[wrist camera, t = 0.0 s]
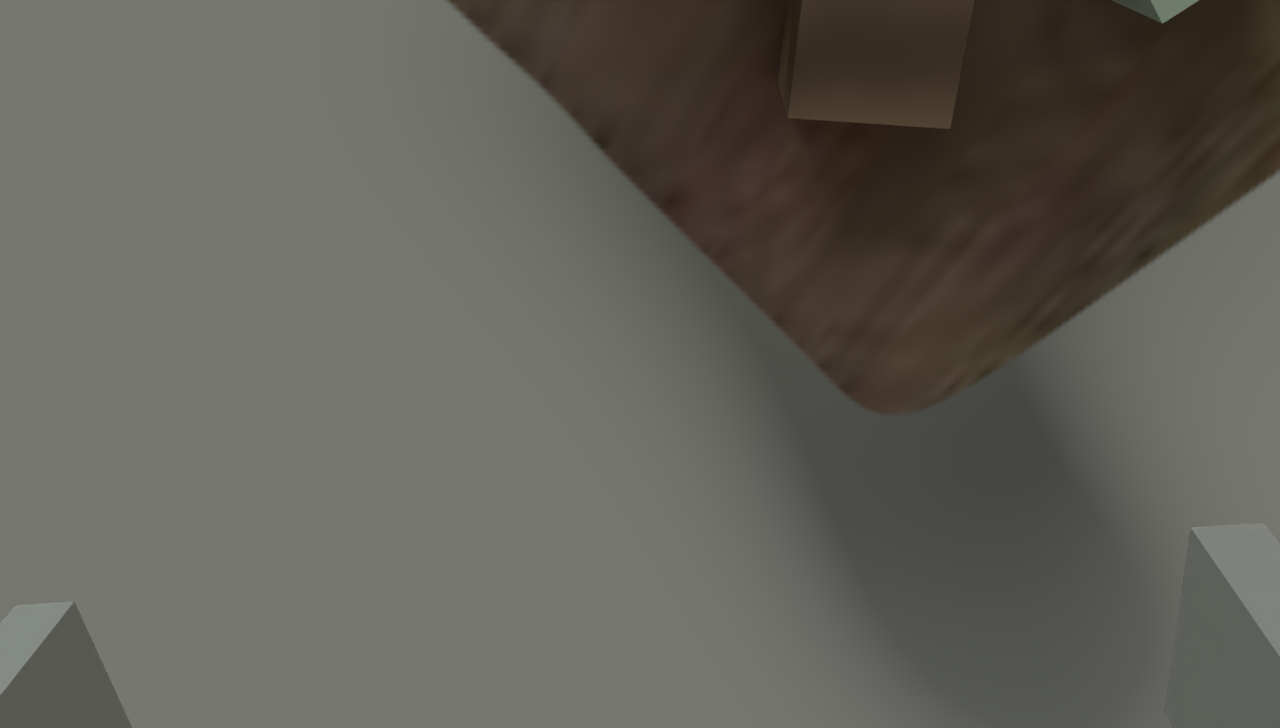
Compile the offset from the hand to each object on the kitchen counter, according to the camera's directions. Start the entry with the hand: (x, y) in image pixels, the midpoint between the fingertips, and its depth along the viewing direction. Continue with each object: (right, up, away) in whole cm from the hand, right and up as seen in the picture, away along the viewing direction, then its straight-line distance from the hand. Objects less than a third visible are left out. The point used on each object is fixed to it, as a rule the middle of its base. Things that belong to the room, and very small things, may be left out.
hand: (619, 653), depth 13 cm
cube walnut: (+8, +15, +23) cm, 29 cm away
